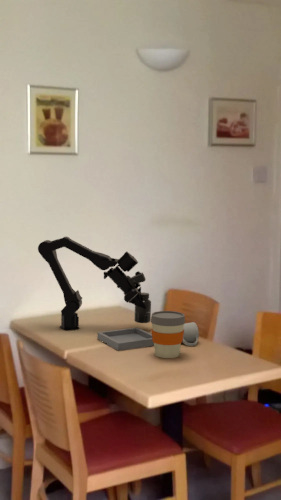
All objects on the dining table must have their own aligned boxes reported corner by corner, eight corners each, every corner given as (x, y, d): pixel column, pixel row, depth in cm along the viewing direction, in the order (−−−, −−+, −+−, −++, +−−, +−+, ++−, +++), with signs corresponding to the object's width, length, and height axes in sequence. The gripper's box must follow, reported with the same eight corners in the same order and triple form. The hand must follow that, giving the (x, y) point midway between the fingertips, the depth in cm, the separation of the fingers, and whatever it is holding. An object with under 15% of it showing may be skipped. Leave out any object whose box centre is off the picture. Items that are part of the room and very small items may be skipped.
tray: (118, 350, 239) (118, 343, 238) (97, 339, 254) (97, 332, 254) (159, 344, 247) (159, 337, 247) (136, 334, 263) (136, 327, 263)
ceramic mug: (172, 340, 254) (173, 321, 253) (191, 338, 257) (191, 320, 256) (183, 347, 245) (184, 328, 244) (202, 346, 247) (203, 326, 246)
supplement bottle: (150, 323, 265) (151, 295, 263) (134, 323, 265) (134, 294, 263) (150, 319, 272) (151, 292, 270) (134, 319, 272) (135, 291, 270)
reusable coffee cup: (154, 360, 228) (155, 319, 226) (146, 350, 240) (147, 311, 238) (188, 358, 230) (189, 318, 228) (179, 348, 242) (180, 310, 240)
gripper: (133, 269, 256) (159, 297, 257) (136, 262, 275) (160, 289, 276) (113, 288, 258) (139, 316, 259) (117, 280, 276) (142, 306, 277)
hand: (146, 306), depth 267 cm, fingers closed on supplement bottle, 7 cm apart
